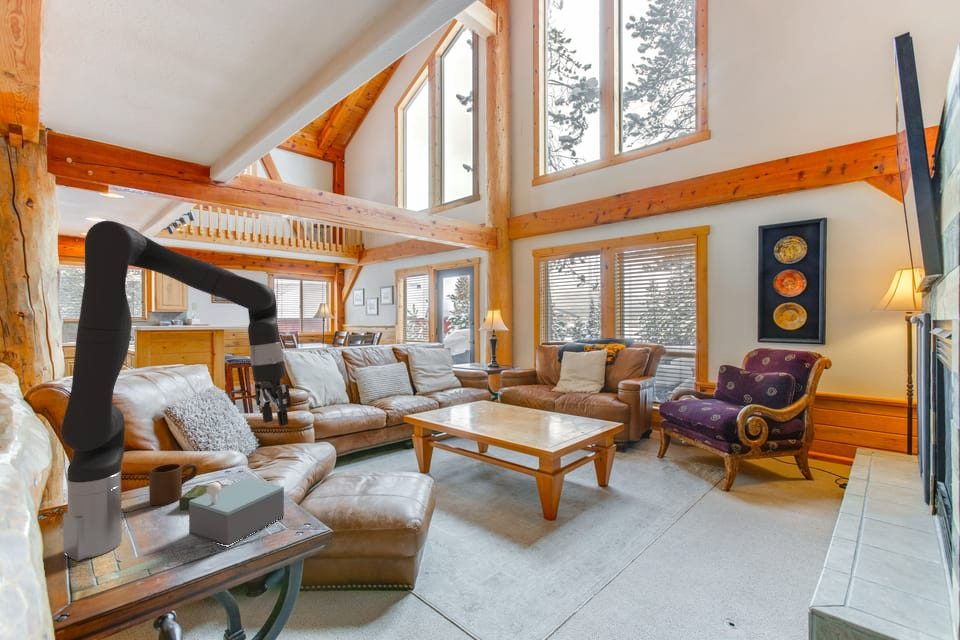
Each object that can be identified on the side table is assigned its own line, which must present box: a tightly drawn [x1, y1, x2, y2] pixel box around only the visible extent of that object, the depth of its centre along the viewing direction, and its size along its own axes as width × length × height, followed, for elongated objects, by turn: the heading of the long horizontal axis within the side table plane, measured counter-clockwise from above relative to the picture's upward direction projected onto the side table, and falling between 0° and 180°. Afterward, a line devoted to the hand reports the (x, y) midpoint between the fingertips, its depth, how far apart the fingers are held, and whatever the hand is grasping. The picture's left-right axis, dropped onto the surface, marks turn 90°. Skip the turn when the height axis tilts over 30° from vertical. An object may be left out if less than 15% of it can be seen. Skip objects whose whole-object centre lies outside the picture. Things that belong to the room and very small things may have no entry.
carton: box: [178, 484, 229, 511], centre depth 123 cm, size 8×16×4 cm, turn 94°
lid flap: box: [189, 477, 285, 516], centre depth 110 cm, size 16×14×6 cm
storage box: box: [188, 489, 285, 545], centre depth 110 cm, size 16×14×8 cm
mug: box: [148, 462, 199, 506], centre depth 126 cm, size 12×8×9 cm, turn 139°
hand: (275, 423), depth 110 cm, fingers open, 8 cm apart
